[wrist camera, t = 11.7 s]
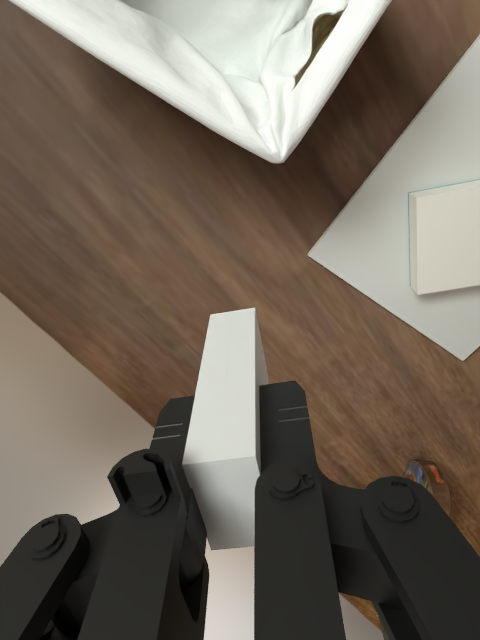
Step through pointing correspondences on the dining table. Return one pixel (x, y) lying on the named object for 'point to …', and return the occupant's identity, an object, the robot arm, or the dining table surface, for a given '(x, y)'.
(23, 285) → the dining table surface
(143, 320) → the dining table surface
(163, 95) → the storage basket
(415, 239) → the tile
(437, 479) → the tin
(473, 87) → the mat
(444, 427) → the dining table surface
